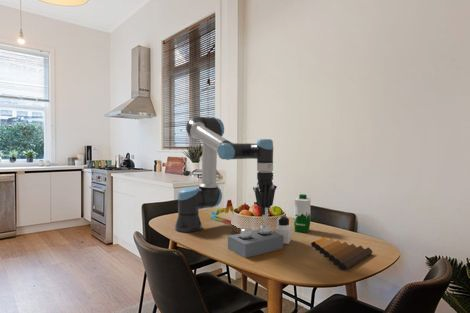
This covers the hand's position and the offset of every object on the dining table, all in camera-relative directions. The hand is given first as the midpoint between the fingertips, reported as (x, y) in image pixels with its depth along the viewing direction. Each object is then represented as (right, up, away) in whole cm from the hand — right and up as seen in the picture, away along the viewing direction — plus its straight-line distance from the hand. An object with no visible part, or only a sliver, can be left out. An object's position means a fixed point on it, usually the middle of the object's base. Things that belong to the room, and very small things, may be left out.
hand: (265, 221), depth 143 cm
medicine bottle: (+10, -12, +8) cm, 18 cm away
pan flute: (+29, -13, -10) cm, 33 cm away
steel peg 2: (0, -7, 0) cm, 7 cm away
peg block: (-5, -12, -2) cm, 13 cm away
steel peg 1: (-9, -7, -6) cm, 13 cm away
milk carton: (+24, -11, +27) cm, 38 cm away
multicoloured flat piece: (-20, -11, +44) cm, 49 cm away
